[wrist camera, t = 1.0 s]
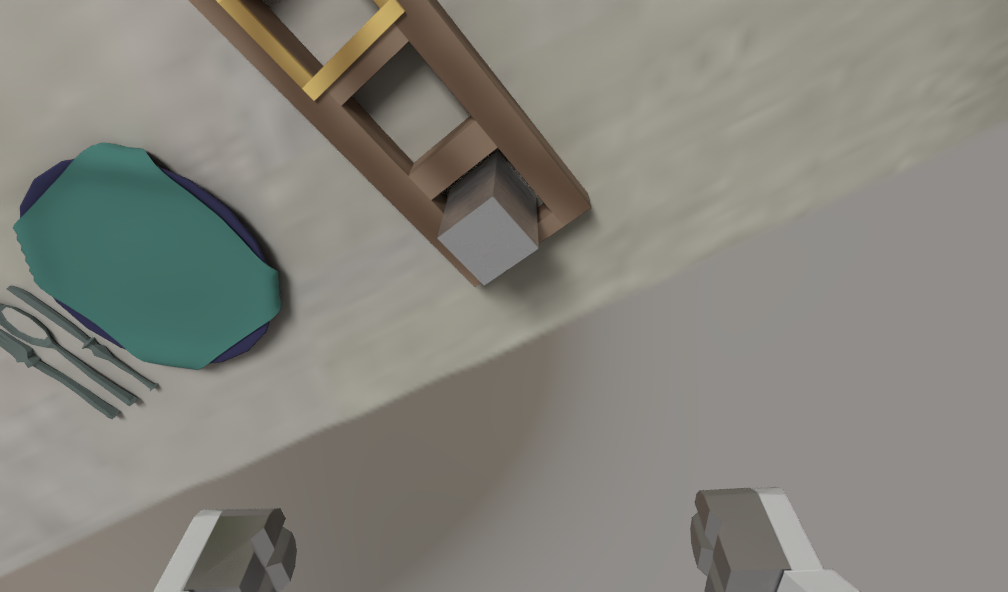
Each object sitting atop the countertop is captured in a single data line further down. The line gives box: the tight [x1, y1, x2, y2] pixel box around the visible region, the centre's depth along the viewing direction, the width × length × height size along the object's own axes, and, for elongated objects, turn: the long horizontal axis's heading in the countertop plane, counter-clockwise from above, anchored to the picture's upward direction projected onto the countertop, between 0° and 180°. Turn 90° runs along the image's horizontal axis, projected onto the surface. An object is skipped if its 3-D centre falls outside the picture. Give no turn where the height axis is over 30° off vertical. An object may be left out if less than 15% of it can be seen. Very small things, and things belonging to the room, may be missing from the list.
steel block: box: [437, 150, 539, 285], centre depth 39 cm, size 5×5×8 cm
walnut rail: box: [189, 0, 591, 287], centre depth 37 cm, size 11×26×3 cm, turn 39°
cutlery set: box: [0, 143, 281, 419], centre depth 48 cm, size 20×30×2 cm, turn 126°
